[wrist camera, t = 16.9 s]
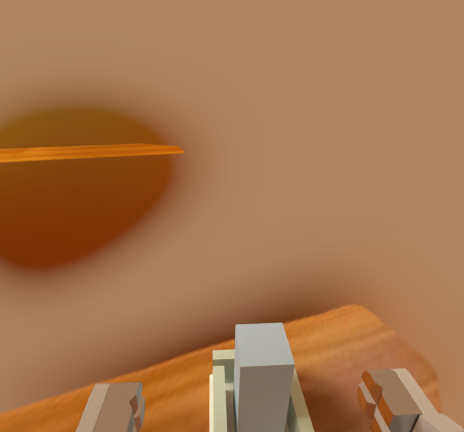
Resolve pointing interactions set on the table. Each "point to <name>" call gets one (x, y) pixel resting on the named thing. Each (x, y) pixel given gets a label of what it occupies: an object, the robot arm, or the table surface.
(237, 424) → the block
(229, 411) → the cradle
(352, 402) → the table surface
